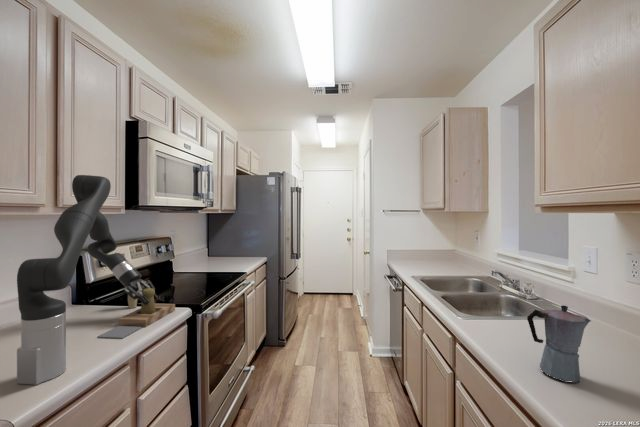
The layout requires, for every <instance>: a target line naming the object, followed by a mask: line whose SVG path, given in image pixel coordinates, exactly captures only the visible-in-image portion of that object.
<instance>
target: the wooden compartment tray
mask: <svg viewBox="0 0 640 427" xmlns="http://www.w3.org/2000/svg"><path fill="white" fill-rule="evenodd" d="M154 303H155V310H156V312H155V313H153V314H140V311H141V307H140V308H138V309H136V310H134V311H132V312H130V313H128V314H125V315H123V316H121V317H119V318H118V319H117V326H134V327H142V328H147V327H148V326H150V325H153V324H154V323H155V322H157V321H160V320H161V319H163V318H164V317H166V316H168V315H169V314H172V313H173V312H175V311H176V304H175V303H156V302H154Z"/></svg>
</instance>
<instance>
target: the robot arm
mask: <svg viewBox="0 0 640 427" xmlns="http://www.w3.org/2000/svg"><path fill="white" fill-rule="evenodd" d="M111 188H112V186H111V181H110V179H108V178H107V177H105V176H102V175H101V176H100V175H90V174H88V175H87V174H78V175H75V176H74V178H73V179H72V183H71V190H72V193H73V196H74V198H75V200H76V203H74V204H73V205H70V206H69V207H68V208H66V209H64V211H63V212H62V213H61V214H60V216H59V217H58V219H57V220H56V223H55V224H54V227H53V230H54V234H55V238H56V239H57V241H58V242H59V244H60V245H61V248H62V250H61V253H60V255H59V256H58V257H47V258H44V257H43V258H42V257H41V258H31V259H30V258H29V259H26V260H24V261H22V263H21V264H20V265H19V267H18V269H17V274H16V287H17V298H18V300H17V301H18V311H19V313H20V347H17V349H16V384H19V385H35V386H36V385H39V384H41V383H44V382H47V381H50V380H52V379H55V378H57V377H58V376H60V375H62V374H63V373H65V371H66V370H67V327H66V326H67V305H66V302H65V301H64V300H62V299H57V298H54V297H51V296H49V295H47V294H45V292H51V291H53V292H54V291H61V290H64V289H66V288H68V286H69V284H70V283H71V282H72V279H73V277H74V274H75V271H76V267H77V264H78V263H79V262H78V261H79V258H80V256H81V252H82V250H83V247H84V245H85V242H86V240H87V239H88V237H90V239H91V240H93V242H92V243H90V244H88V246H87V249H86V251H87V253H88V254H89V255H90V257H92V258H93V259H96V260H97V261H99V262H100V263H102V264H103V265H105V266H106V267H107V268H108V269H109V271H110V272H112V273H113V275H114V277H115V278H116V279H117V280H118V281H119V282H120V283H121V284H122V286H124V287H125V288H124V290H123V292H124V293H125V294H126V295H127V296H128V295H129V296H130V297H131V298H133V299H134V300H135V299H137V301H138V300H139V301H140V302H141V304H142V303H143V304H144V305H147V304H148V303H149V300H148V299H147V298H146V297H145V296H143V293H142V290H144V289H147V288H153V289H154V290H156V288H155V286H154V285H153V283H152V281H151V280H150V279H147V280H144V279H142V274H141V273H140V272H139V271H138V270H137V269H136V268H135V266H134V265H133V264H132V263H131V262H129V261H128V260H127V259H126V257H124V255H123V254H121V253H119V252H115V253H112V252H114V251H116V249H117V248H118V243H117V242H116V240H115V238H114V237H113V235H112V234H111V232H110V226H109V222H108V219H107V218H106V216H105V215H104V214H103V213H102V212H101V211H100V209H101V208H102V207H103V205H104V204H105V203H106V201H107V199H108V197H109V195H110V193H111ZM111 253H112V254H111ZM133 294H134V295H135V296H134V295H133ZM158 299H159V297H158V295H157V294H156V293H155V294H154V302H156V301H157V300H158Z"/></svg>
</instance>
